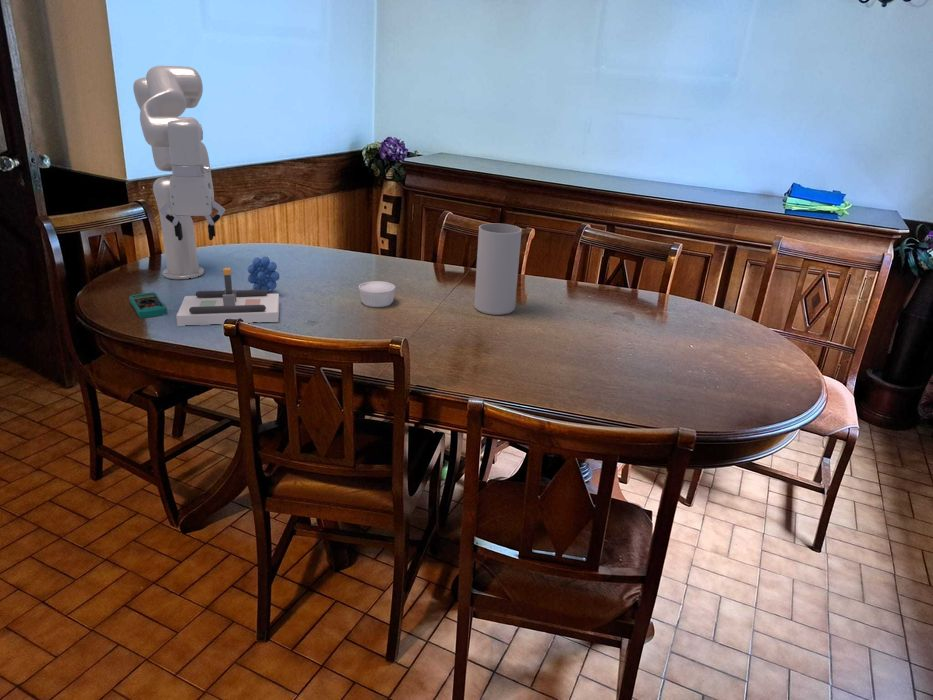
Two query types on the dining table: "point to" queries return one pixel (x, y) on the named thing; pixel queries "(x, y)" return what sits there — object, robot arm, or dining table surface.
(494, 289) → the cylinder vase
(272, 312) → the switch base plate
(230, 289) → the breaker lever
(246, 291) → the pair of dark bars
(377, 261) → the dining table surface
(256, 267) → the grapes
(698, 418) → the dining table surface
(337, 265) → the dining table surface
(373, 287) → the ramekin
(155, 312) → the digital multimeter
